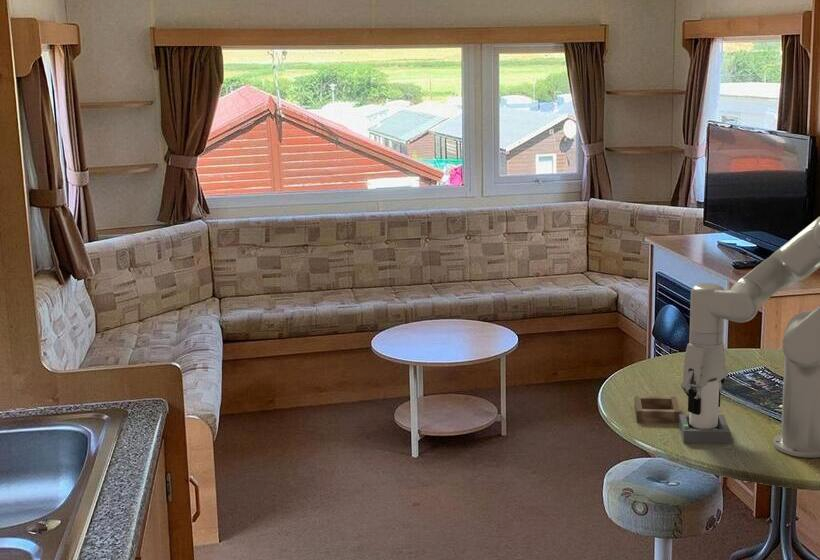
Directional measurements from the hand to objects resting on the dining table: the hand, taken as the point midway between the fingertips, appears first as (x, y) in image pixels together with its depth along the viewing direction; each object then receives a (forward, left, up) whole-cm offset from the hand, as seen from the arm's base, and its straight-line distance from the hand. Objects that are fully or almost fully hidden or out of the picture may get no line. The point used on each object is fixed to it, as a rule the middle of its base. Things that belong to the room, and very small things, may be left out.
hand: (704, 408), depth 224 cm
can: (0, 0, -4) cm, 4 cm away
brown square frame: (+10, -12, -7) cm, 17 cm away
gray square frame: (0, 0, -7) cm, 7 cm away
